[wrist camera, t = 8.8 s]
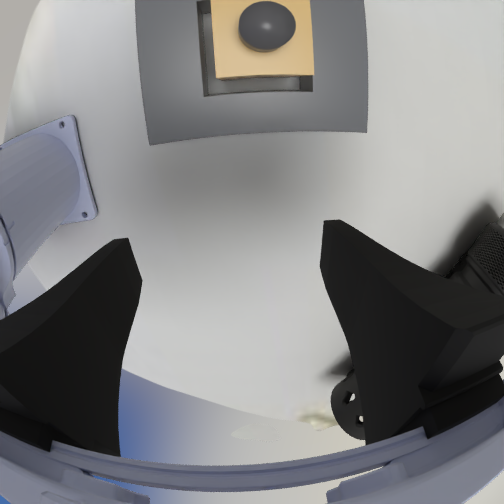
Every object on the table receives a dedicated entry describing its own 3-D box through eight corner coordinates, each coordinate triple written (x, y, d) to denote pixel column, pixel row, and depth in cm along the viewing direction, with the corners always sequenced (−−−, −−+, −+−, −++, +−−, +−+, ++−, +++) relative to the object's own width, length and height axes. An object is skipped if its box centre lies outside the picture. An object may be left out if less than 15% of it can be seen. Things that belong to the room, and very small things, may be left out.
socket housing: (162, 135, 16) (149, 145, 14) (149, -5, 11) (134, -18, 8) (347, 124, 16) (366, 132, 14) (342, -12, 11) (360, -24, 8)
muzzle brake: (319, 371, 33) (337, 444, 24) (481, 189, 19) (554, 249, 11) (368, 378, 36) (388, 439, 27) (507, 230, 22) (560, 284, 14)
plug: (221, 80, 15) (213, 76, 8) (217, 22, 12) (207, -18, 6) (287, 77, 15) (325, 74, 8) (284, 20, 12) (319, -17, 6)
